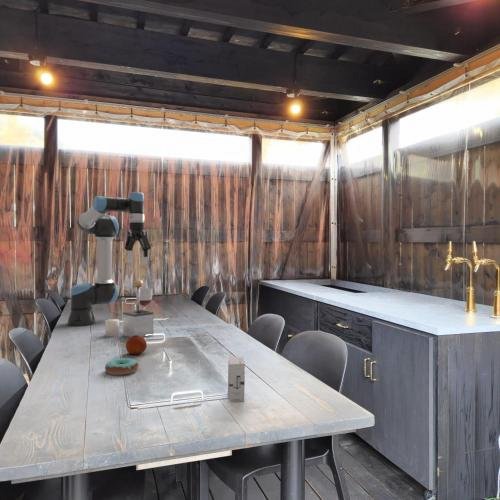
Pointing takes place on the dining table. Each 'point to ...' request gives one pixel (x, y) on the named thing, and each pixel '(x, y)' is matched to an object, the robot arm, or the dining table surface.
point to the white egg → (111, 327)
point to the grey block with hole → (137, 323)
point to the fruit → (136, 345)
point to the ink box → (236, 379)
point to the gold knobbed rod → (138, 292)
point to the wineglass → (145, 296)
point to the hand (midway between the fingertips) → (137, 263)
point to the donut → (121, 366)
